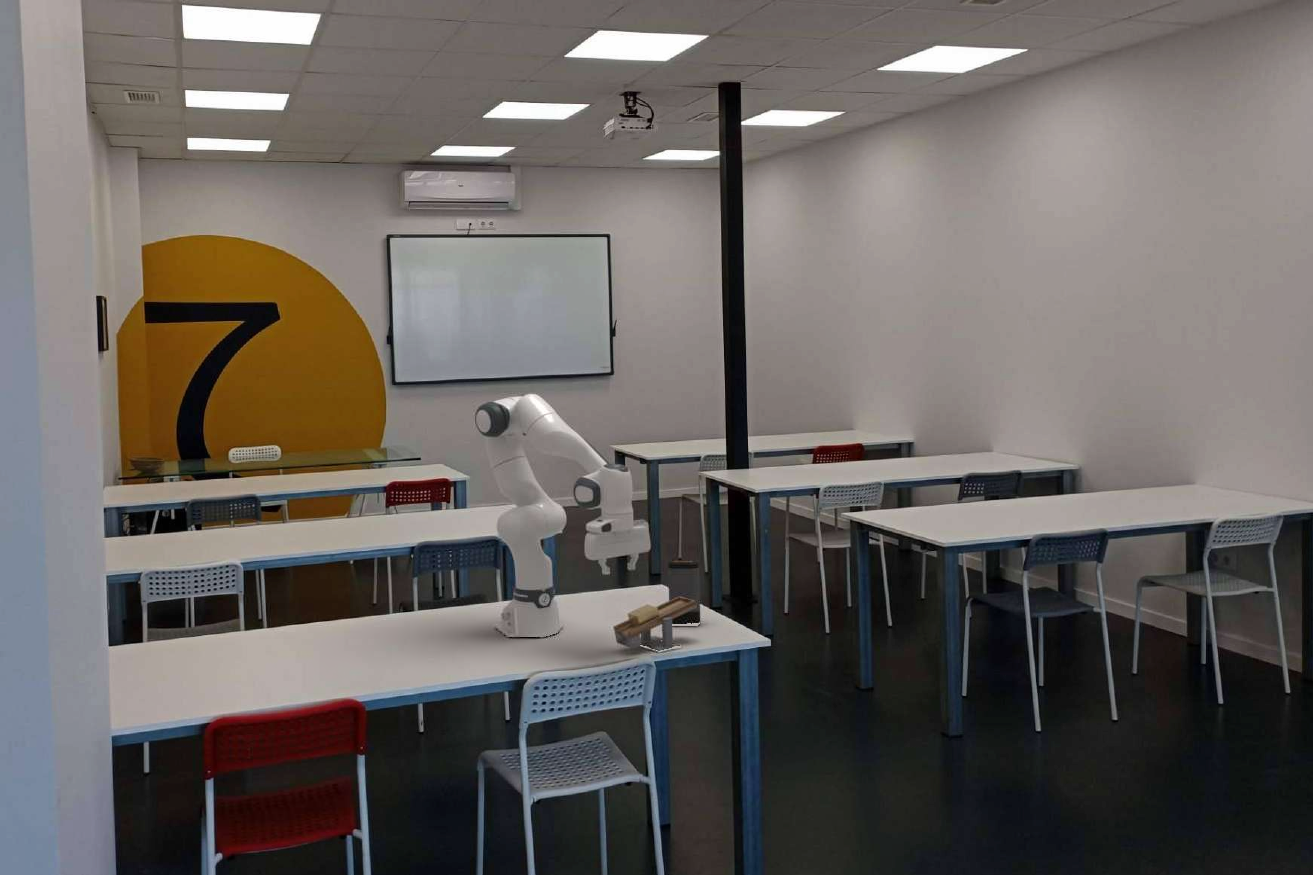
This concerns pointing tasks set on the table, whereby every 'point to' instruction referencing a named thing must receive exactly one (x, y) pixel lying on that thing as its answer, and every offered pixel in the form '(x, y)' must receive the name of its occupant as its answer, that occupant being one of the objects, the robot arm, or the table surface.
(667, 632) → the stand
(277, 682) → the table surface
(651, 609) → the rider
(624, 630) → the beam
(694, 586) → the electronic device
